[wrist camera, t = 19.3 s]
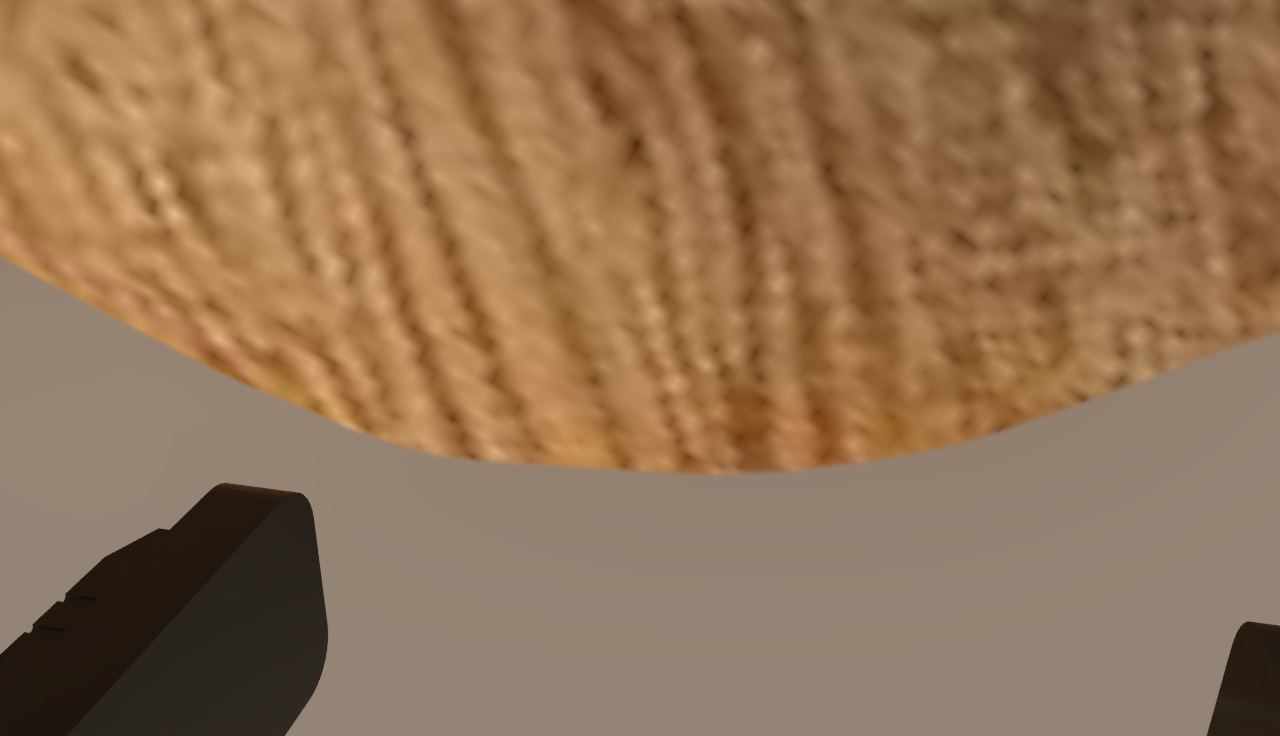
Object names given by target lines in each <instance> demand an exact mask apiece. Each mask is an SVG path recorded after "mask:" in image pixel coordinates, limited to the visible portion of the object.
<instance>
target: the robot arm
mask: <svg viewBox="0 0 1280 736" xmlns="http://www.w3.org/2000/svg"><path fill="white" fill-rule="evenodd" d="M65 595H66V597H65V600H64V602H59V601H57V602H56V603H55V604H54V605H53V606H52V607H51V608H50V609H49V610H48V611H47V612H45V613H44V614H43V615H42V616H41V617H40V618H39V619H38V620H37V621H36V622H35V623H34V624H33V629H32V631H31V633H26V632H24V633H23V634H22V635H21V636H20V637H19V638H18V639H17V640H15V641H14V642H13V643H12V644H11V645H10V646H9V647H8V648H7V649H6V650H5V651H4V652H3V653H2V654H0V736H285V734H286V733H287V732H288V730H289V729H290V727H291V726H292V724H293V723H294V722H295V720H296V719H297V717H298V716H299V714H300V713H301V711H302V710H303V708H304V707H305V705H306V704H307V703H308V701H309V700H310V698H311V696H312V695H313V693H314V691H315V689H316V686H317V685H318V682H319V680H320V677H321V674H322V671H323V667H324V663H325V658H326V652H327V644H328V626H327V617H326V609H325V602H324V595H323V586H322V578H321V571H320V563H319V555H318V547H317V539H316V532H315V524H314V517H313V511H312V508H311V505H310V503H309V501H308V499H307V498H306V497H305V496H304V495H303V494H301V493H296V492H290V491H282V490H275V489H267V488H259V487H252V486H245V485H237V484H230V483H223V484H219V485H217V486H215V487H214V488H213V489H211V490H210V491H209V492H208V493H207V494H206V495H205V496H204V497H203V498H202V499H201V500H200V501H199V502H198V503H197V504H196V505H195V506H194V507H193V508H192V509H191V510H189V512H187V513H186V514H185V515H184V516H183V517H182V518H181V519H180V520H179V521H178V522H177V523H176V524H175V525H174V526H173V527H172V528H171V529H170V530H166V529H157V530H155V531H153V532H151V533H149V534H147V535H146V536H144V537H142V538H140V539H138V540H136V541H135V542H132V543H131V544H129V545H127V546H125V547H123V548H121V549H119V550H117V551H116V552H114V553H112V554H110V555H108V556H106V557H104V558H103V559H102V560H101V561H100V562H99V563H98V564H97V565H96V566H95V567H94V568H93V569H92V570H90V571H89V572H88V573H87V574H86V575H85V576H84V577H83V578H82V579H81V580H80V581H79V582H78V583H77V584H75V585H74V586H73V587H72V588H71V589H70V590H69V591H68V592H67V593H66V594H65ZM1207 736H1280V626H1278V625H1270V624H1263V623H1256V622H1246V623H1244V624H1243V625H1242V626H1241V627H1240V629H1239V630H1238V632H1237V634H1236V637H1235V638H1234V641H1233V644H1232V648H1231V651H1230V655H1229V658H1228V662H1227V665H1226V669H1225V673H1224V676H1223V680H1222V683H1221V687H1220V690H1219V694H1218V698H1217V701H1216V705H1215V709H1214V712H1213V716H1212V719H1211V723H1210V726H1209V730H1208V734H1207Z"/></svg>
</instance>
